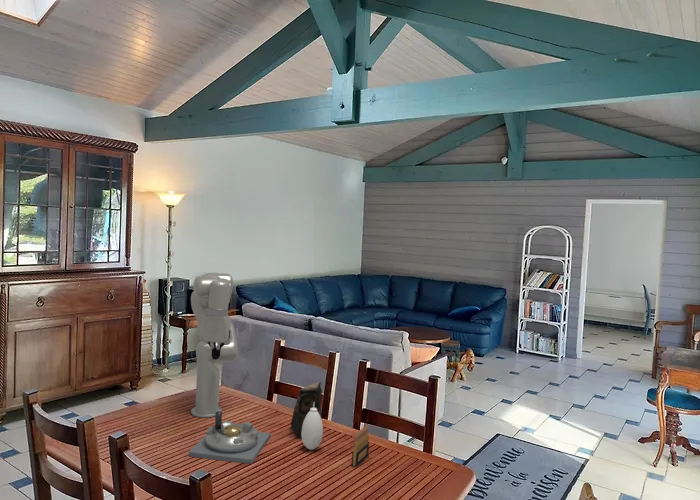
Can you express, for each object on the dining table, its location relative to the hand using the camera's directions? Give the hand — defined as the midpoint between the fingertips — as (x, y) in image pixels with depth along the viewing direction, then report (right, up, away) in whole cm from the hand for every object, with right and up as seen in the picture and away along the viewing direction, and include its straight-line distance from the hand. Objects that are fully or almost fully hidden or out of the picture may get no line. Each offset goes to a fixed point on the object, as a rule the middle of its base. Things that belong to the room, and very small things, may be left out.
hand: (215, 358), depth 197 cm
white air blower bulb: (+38, -32, -9) cm, 51 cm away
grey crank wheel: (+9, -28, -11) cm, 32 cm away
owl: (+34, -31, +7) cm, 47 cm away
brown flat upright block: (+56, -34, -16) cm, 68 cm away
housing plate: (+9, -30, -11) cm, 33 cm away
